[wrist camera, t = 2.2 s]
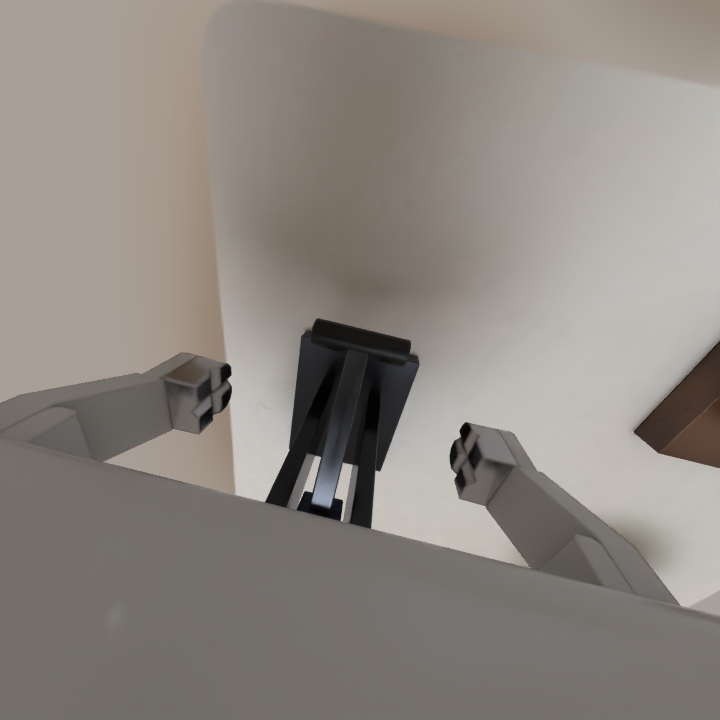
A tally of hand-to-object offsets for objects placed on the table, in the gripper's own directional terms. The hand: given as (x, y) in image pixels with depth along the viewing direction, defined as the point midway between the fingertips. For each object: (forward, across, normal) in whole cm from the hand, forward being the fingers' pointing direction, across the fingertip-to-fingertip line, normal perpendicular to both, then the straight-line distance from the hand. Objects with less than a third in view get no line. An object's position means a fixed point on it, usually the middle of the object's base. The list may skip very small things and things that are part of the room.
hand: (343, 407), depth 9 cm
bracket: (+11, 0, +8) cm, 14 cm away
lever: (+4, 0, +5) cm, 6 cm away
